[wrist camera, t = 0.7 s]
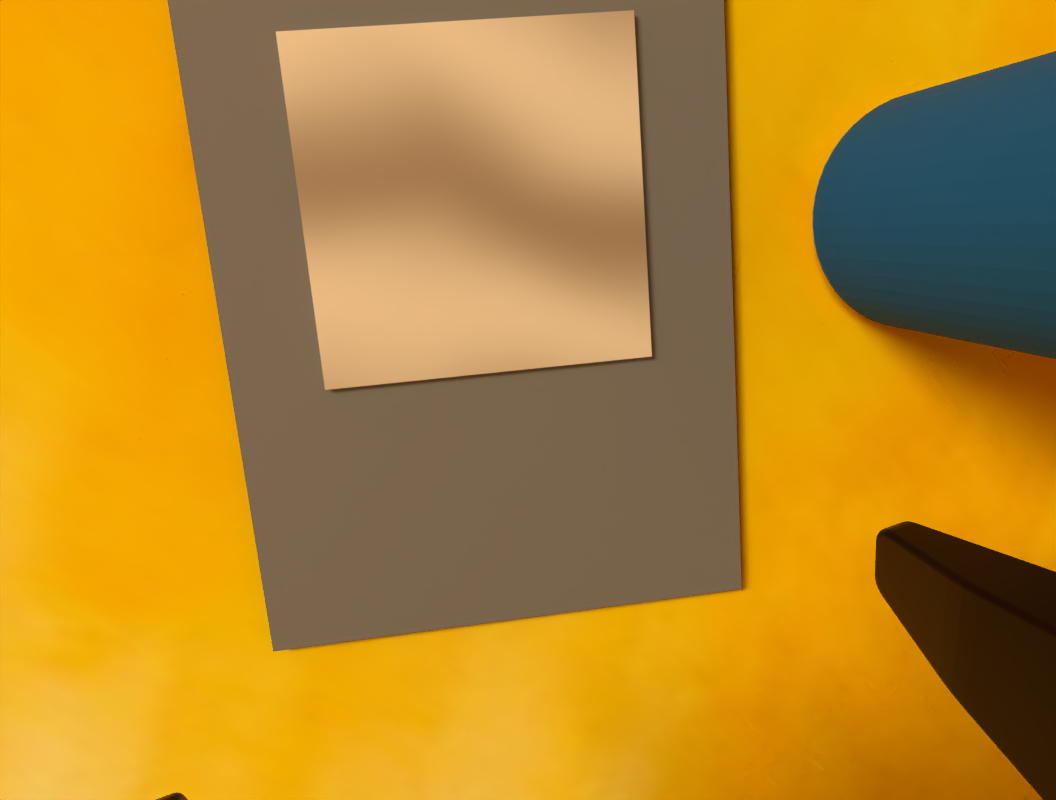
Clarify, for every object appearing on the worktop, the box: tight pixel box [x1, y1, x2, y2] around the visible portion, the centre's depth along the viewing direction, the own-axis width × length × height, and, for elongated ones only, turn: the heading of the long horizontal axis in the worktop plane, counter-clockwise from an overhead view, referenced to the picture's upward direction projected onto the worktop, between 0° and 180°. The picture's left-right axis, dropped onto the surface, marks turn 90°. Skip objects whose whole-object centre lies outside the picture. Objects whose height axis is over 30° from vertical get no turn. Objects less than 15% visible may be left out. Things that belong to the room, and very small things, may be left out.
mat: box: [168, 0, 742, 651], centre depth 22 cm, size 24×14×1 cm, turn 5°
